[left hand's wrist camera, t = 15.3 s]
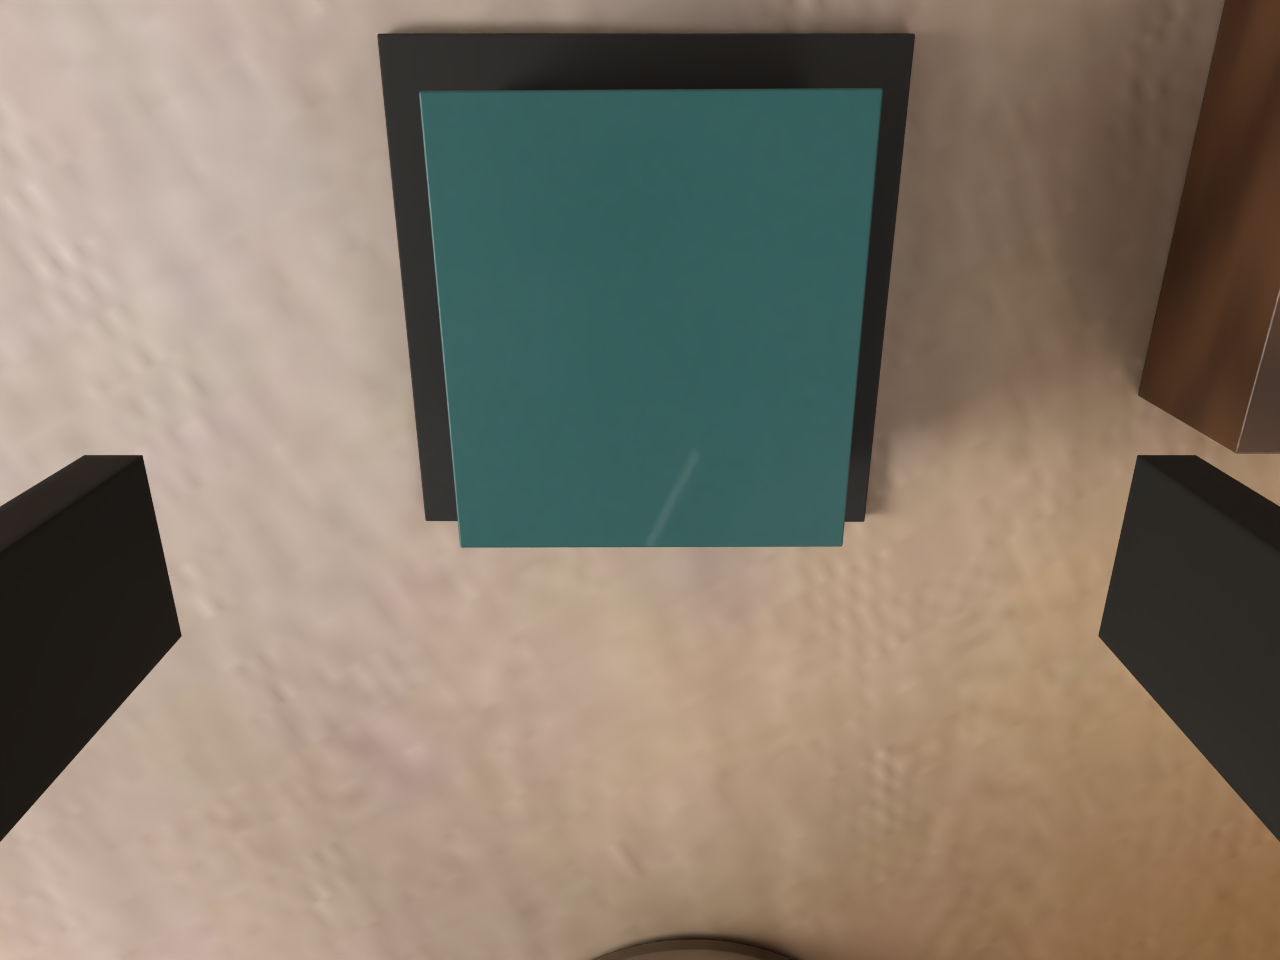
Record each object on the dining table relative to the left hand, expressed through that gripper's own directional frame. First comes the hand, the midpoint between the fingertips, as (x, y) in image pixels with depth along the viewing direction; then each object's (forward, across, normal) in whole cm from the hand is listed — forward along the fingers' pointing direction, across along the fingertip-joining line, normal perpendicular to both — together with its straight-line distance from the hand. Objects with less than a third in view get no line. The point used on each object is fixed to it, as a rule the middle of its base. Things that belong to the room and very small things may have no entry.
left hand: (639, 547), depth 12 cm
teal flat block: (+15, 0, 0) cm, 15 cm away
